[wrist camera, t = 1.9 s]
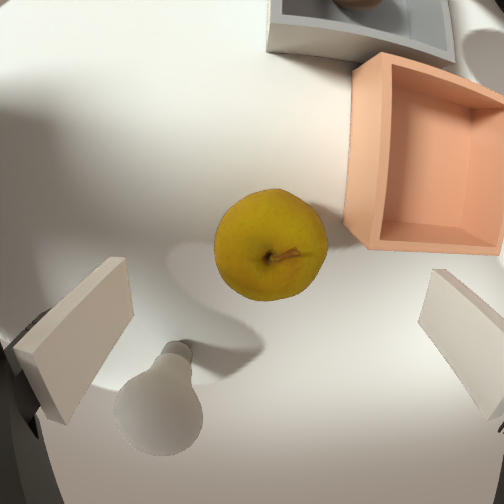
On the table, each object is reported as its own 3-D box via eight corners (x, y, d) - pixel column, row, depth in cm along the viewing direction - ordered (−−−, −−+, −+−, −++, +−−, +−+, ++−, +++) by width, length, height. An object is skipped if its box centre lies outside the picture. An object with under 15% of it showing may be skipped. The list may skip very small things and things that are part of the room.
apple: (323, 193, 21) (360, 221, 13) (298, 275, 23) (318, 338, 15) (232, 171, 20) (220, 187, 13) (214, 257, 22) (196, 315, 15)
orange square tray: (342, 224, 21) (368, 249, 16) (351, 71, 18) (381, 51, 12) (460, 233, 22) (499, 255, 16) (472, 104, 18) (515, 102, 13)
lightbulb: (134, 342, 25) (87, 434, 15) (175, 304, 24) (132, 405, 13) (184, 381, 27) (160, 478, 16) (229, 350, 25) (217, 457, 15)
